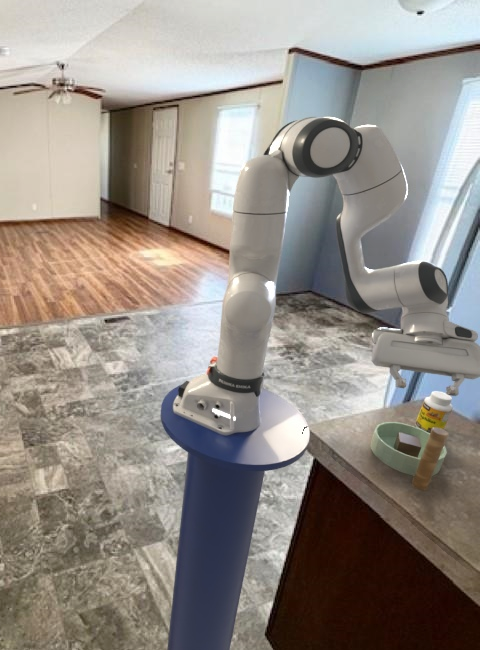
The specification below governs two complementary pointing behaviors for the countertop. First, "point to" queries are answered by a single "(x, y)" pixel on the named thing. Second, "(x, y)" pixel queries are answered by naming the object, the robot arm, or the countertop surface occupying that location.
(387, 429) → the bowl
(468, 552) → the countertop surface
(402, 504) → the countertop surface
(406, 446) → the block
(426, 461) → the wooden cylinder
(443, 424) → the supplement bottle
